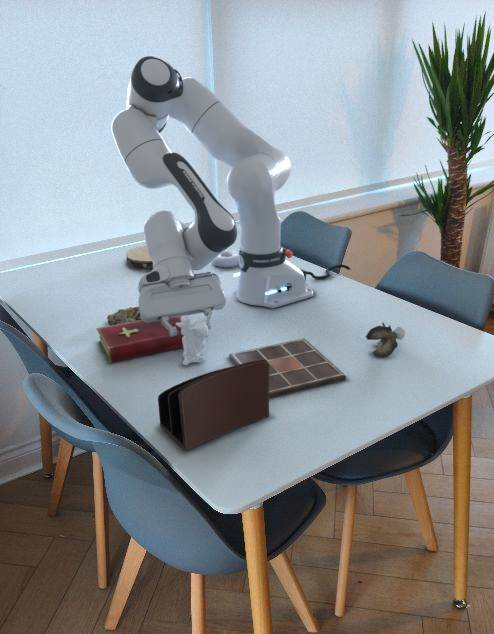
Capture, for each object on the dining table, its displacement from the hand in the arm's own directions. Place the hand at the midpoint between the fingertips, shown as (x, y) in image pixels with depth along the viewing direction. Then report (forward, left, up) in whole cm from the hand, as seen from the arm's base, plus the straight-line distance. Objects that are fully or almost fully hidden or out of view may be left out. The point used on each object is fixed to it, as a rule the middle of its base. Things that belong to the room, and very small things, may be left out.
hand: (191, 332), depth 139 cm
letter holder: (+4, +27, -7) cm, 28 cm away
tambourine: (-9, -69, -7) cm, 70 cm away
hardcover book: (+8, -12, -7) cm, 16 cm away
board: (-18, +13, -7) cm, 23 cm away
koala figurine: (0, 0, -7) cm, 7 cm away
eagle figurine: (-44, +14, -7) cm, 47 cm away
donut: (-31, -57, -7) cm, 65 cm away
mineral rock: (+9, -28, -7) cm, 30 cm away
